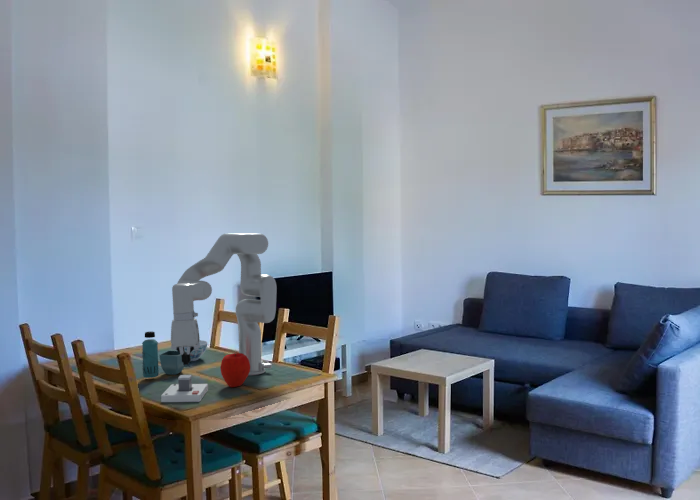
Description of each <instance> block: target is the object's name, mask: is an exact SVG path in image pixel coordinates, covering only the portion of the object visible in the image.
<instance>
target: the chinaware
mask: <svg viewBox="0 0 700 500" xmlns="http://www.w3.org/2000/svg"><path fill="white" fill-rule="evenodd" d="M199 344H200V347H199V348H198V349H194V350H193V351H192V352H191V353H190V358H191V361H190V362H195V361H198V360H199V359H200V357H202V356H203V354H205V352H206V351H207V347H208V341H206V340H200V342H199ZM184 349H185V351H187V347H184ZM175 351H177V350H175Z"/></svg>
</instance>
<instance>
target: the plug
mask: <svg viewBox="0 0 700 500" xmlns="http://www.w3.org/2000/svg"><path fill="white" fill-rule="evenodd" d="M192 377H193V375H192V374H180V375H179V376H178V377H177V381H178V383H177V384H179V391H192V384H193V382H192V381H193V380H192V379H193V378H192Z"/></svg>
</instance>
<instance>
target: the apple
mask: <svg viewBox="0 0 700 500" xmlns="http://www.w3.org/2000/svg"><path fill="white" fill-rule="evenodd" d="M249 372H250V362H249V360H248V358H247V356H246V355H244V354H242V353H239V352H235V353H229V354H226V355H225V356H223V358H222V360H221V364H220V374H221V376H222V379H223V380H224V382H225V384H226V385H227V386H228V387H230V388H236V387H240V386H242V385H243V384H244V382H245V381H246V379H247V378H248V377H249V375H248V374H249Z"/></svg>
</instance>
